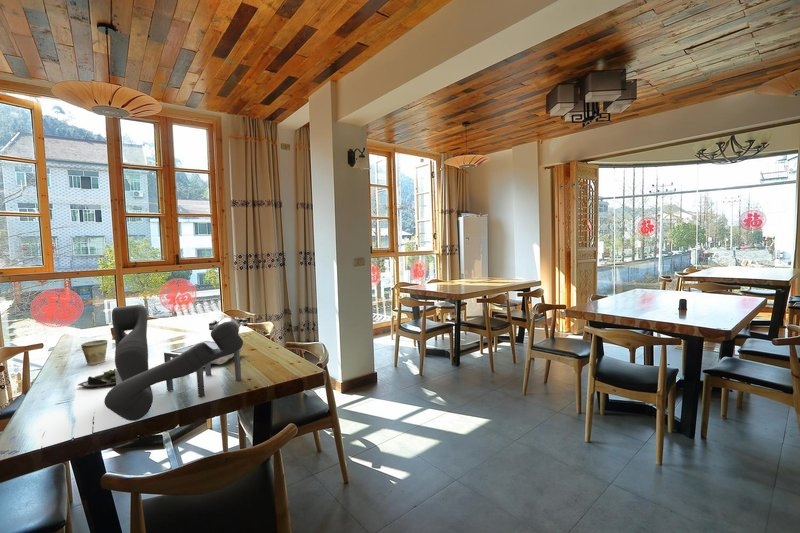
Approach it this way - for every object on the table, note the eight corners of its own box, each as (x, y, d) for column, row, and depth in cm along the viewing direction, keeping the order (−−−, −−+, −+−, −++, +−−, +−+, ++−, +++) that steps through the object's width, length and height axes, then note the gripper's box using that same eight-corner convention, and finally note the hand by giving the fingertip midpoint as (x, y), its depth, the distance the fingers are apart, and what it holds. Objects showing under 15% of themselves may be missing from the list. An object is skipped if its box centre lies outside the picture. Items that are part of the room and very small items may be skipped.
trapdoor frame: (201, 397, 138) (198, 357, 137) (167, 391, 146) (163, 352, 144) (241, 379, 155) (238, 343, 154) (208, 374, 163) (206, 339, 161)
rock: (178, 354, 176) (230, 336, 194) (181, 369, 177) (233, 349, 195) (195, 364, 163) (250, 343, 182) (199, 379, 165) (252, 357, 183)
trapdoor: (199, 357, 140) (199, 354, 140) (172, 353, 146) (172, 351, 146) (230, 346, 153) (230, 344, 153) (204, 344, 159) (204, 341, 159)
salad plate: (98, 375, 168) (97, 365, 168) (144, 370, 172) (143, 360, 172) (73, 392, 149) (72, 380, 149) (125, 386, 154) (124, 375, 153)
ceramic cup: (105, 363, 183) (103, 343, 183) (79, 367, 180) (77, 346, 179) (114, 356, 195) (112, 337, 195) (90, 359, 192) (88, 340, 191)
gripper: (206, 341, 136) (210, 331, 152) (249, 336, 142) (248, 327, 158) (205, 320, 136) (208, 312, 151) (248, 316, 141) (247, 309, 157)
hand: (229, 320), depth 154 cm, fingers closed on lemon, 4 cm apart
